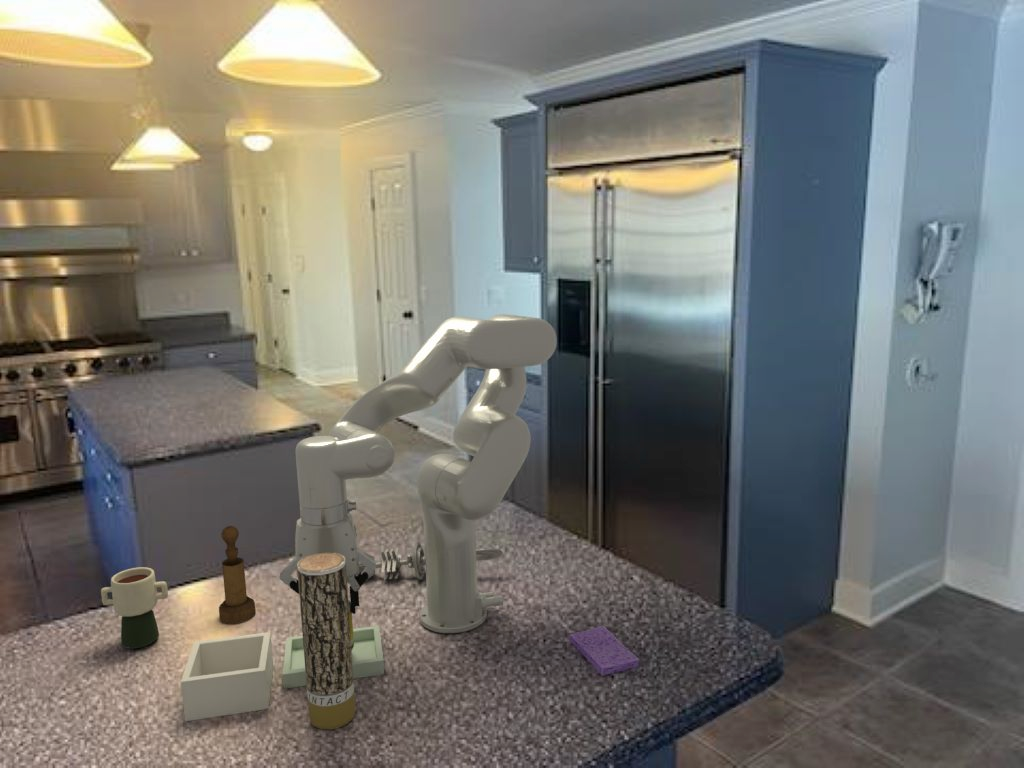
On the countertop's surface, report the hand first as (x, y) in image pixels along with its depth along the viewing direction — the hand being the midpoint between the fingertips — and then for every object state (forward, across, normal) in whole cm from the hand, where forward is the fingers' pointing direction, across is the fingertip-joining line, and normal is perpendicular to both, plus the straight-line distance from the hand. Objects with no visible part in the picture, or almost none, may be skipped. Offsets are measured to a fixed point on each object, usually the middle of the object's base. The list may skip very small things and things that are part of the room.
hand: (331, 612), depth 130 cm
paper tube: (+9, +1, +16) cm, 18 cm away
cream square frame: (+9, +16, +5) cm, 19 cm away
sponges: (+10, -45, +9) cm, 47 cm away
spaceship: (+10, -18, -29) cm, 35 cm away
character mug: (+9, +34, -16) cm, 39 cm away
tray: (+9, 0, 0) cm, 9 cm away
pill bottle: (+7, 0, 0) cm, 7 cm away
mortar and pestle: (+9, +18, -22) cm, 30 cm away
